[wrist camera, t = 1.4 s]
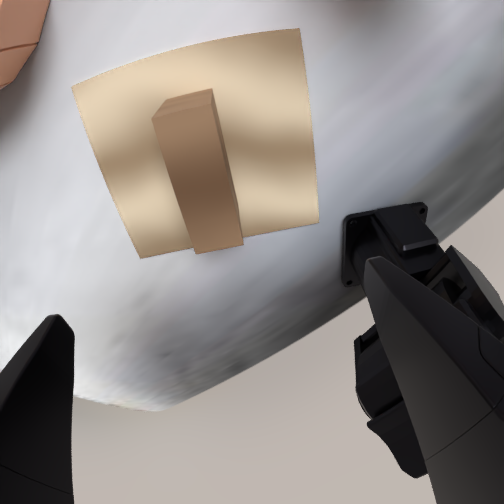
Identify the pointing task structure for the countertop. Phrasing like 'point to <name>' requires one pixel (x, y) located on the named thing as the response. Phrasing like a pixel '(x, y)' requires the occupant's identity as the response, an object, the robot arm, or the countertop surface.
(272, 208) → the board
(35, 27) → the bowl
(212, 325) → the countertop surface
